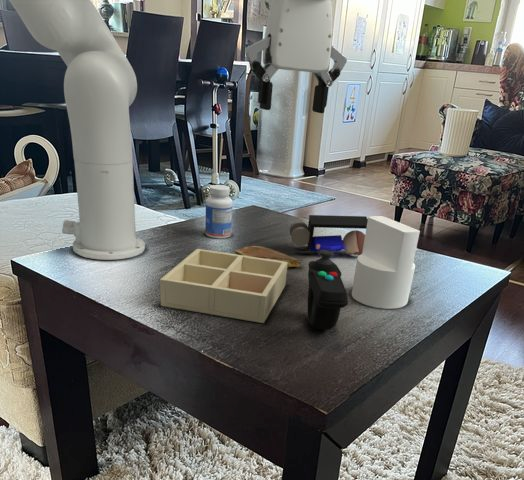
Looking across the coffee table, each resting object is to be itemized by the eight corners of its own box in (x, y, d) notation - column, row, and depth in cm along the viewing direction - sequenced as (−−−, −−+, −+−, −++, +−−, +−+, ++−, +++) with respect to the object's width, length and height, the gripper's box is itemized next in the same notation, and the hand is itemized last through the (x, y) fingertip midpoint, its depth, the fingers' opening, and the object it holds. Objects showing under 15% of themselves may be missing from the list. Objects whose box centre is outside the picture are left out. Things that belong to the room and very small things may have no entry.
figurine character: (291, 263, 102) (370, 260, 102) (290, 224, 98) (372, 221, 98) (289, 252, 108) (364, 249, 108) (289, 215, 104) (365, 212, 104)
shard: (302, 268, 96) (303, 259, 95) (272, 277, 91) (273, 267, 90) (259, 252, 102) (260, 243, 101) (229, 259, 97) (230, 250, 96)
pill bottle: (204, 230, 112) (205, 183, 108) (230, 231, 113) (232, 184, 108) (205, 238, 108) (206, 189, 103) (231, 239, 108) (234, 190, 104)
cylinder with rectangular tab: (419, 304, 85) (436, 230, 79) (375, 312, 81) (389, 234, 75) (383, 284, 92) (396, 214, 86) (340, 290, 88) (351, 217, 82)
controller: (329, 311, 80) (338, 246, 75) (343, 350, 69) (355, 277, 64) (300, 309, 80) (308, 244, 75) (310, 348, 69) (320, 275, 64)
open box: (160, 305, 77) (160, 279, 75) (196, 271, 90) (197, 248, 88) (263, 323, 74) (266, 296, 73) (285, 285, 88) (287, 261, 86)
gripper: (342, -5, 86) (327, 111, 94) (241, -20, 80) (235, 105, 88) (366, -8, 80) (348, 116, 88) (260, -25, 74) (251, 110, 82)
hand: (292, 110), depth 88 cm, fingers open, 9 cm apart
